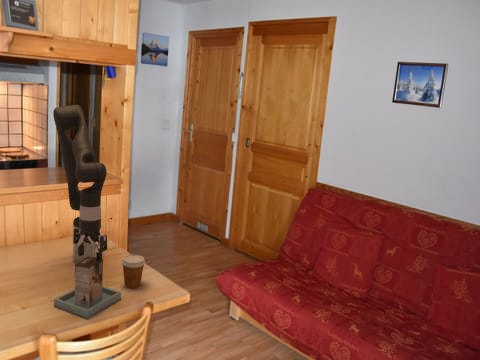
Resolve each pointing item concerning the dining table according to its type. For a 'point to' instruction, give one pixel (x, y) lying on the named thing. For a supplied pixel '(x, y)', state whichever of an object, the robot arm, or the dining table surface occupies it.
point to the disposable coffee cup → (133, 270)
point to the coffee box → (88, 281)
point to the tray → (68, 305)
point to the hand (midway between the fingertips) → (89, 258)
